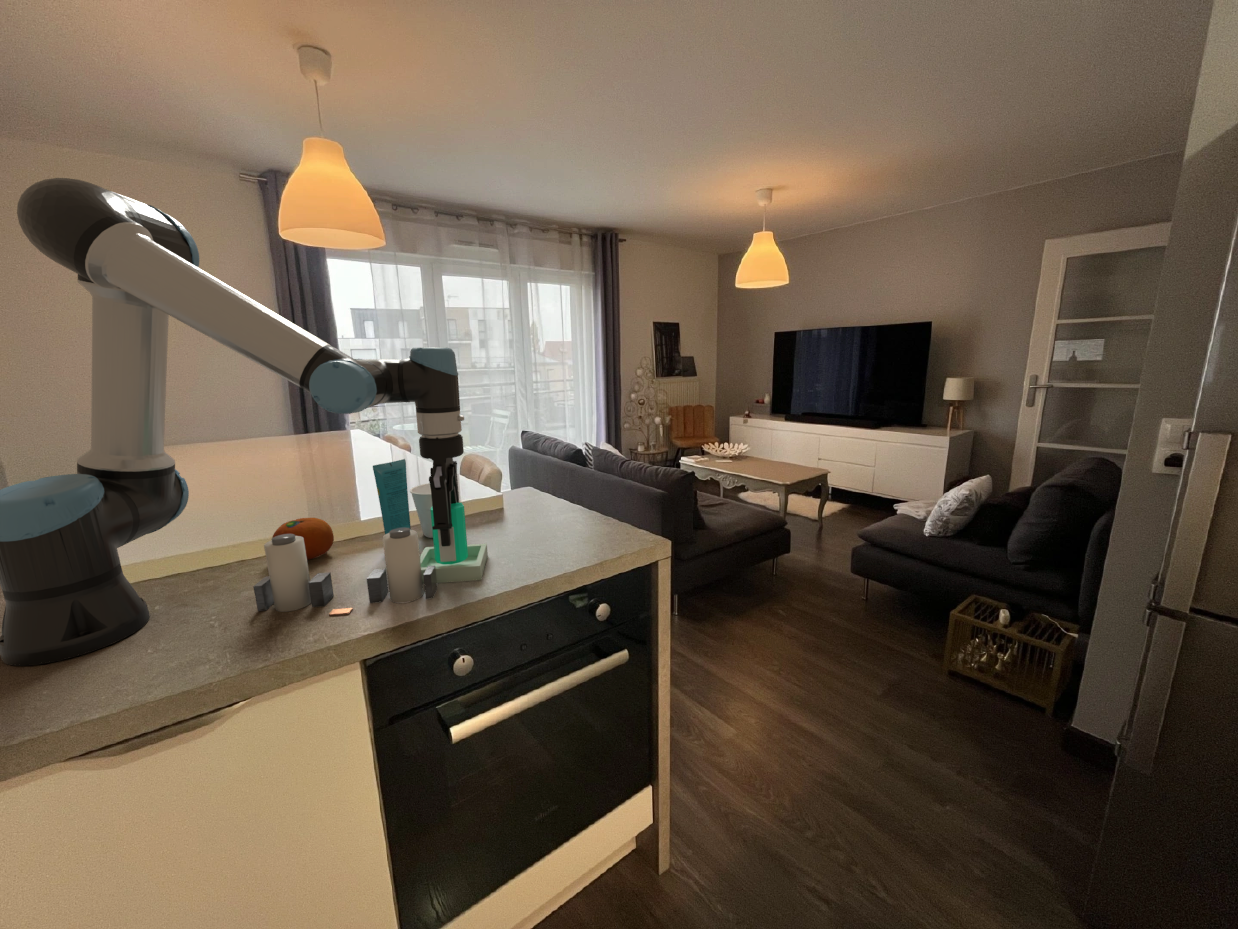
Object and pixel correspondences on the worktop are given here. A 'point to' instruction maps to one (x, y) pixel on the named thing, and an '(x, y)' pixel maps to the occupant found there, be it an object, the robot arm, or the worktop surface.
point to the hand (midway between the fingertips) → (451, 554)
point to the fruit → (310, 535)
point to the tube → (393, 494)
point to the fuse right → (403, 565)
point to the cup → (423, 507)
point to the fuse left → (288, 572)
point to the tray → (457, 565)
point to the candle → (459, 534)
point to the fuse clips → (324, 593)
